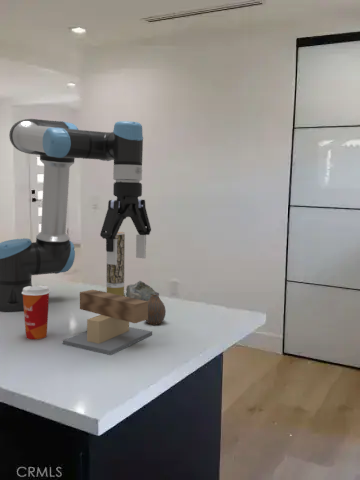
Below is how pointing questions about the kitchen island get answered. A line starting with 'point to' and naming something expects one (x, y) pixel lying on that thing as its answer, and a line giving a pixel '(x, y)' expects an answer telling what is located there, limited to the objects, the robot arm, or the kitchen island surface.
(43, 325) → the paper cup
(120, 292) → the paper tube
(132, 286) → the mineral rock
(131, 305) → the walnut bar
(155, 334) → the kitchen island surface
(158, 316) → the vase
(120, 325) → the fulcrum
